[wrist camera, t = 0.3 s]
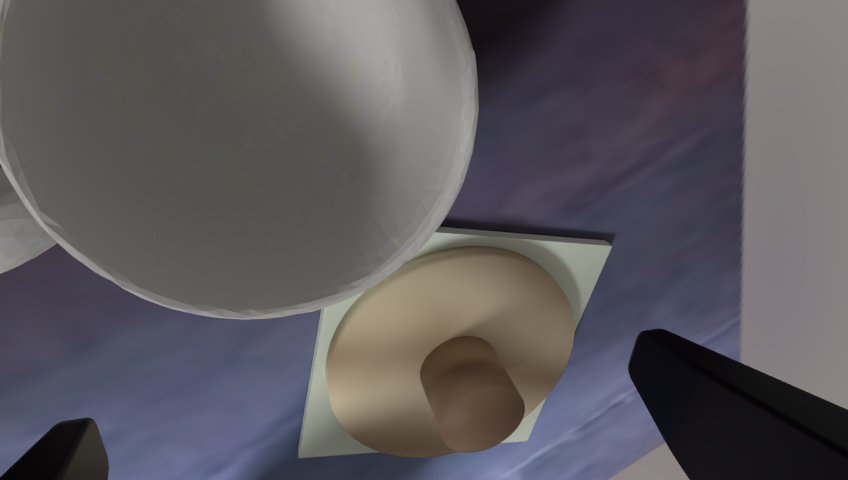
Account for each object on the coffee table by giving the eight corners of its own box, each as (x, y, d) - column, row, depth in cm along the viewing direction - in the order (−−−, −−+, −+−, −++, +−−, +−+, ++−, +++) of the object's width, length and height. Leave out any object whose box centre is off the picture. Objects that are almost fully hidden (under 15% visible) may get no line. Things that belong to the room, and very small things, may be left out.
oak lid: (522, 435, 32) (558, 501, 28) (309, 450, 27) (318, 531, 24) (600, 253, 26) (657, 305, 23) (348, 235, 22) (367, 296, 18)
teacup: (383, -136, 16) (470, -188, 10) (424, 174, 22) (496, 275, 15) (-113, -74, 14) (-447, -89, 7) (76, 255, 20) (-16, 415, 13)
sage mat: (523, 433, 33) (527, 440, 32) (297, 449, 28) (298, 458, 27) (605, 240, 27) (612, 246, 26) (336, 218, 22) (338, 224, 21)
